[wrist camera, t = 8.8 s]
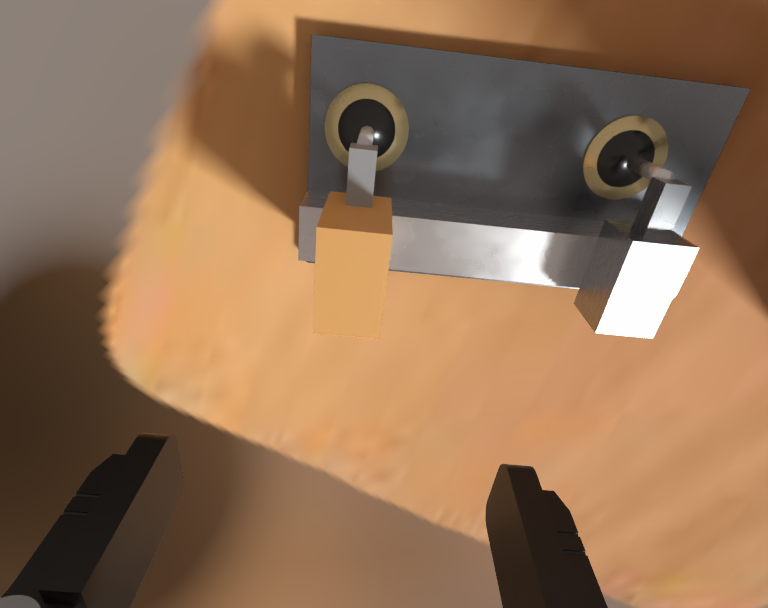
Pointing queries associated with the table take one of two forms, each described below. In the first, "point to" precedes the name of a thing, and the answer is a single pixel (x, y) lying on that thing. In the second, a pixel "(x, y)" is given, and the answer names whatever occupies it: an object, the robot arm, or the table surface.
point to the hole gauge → (522, 169)
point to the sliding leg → (353, 251)
